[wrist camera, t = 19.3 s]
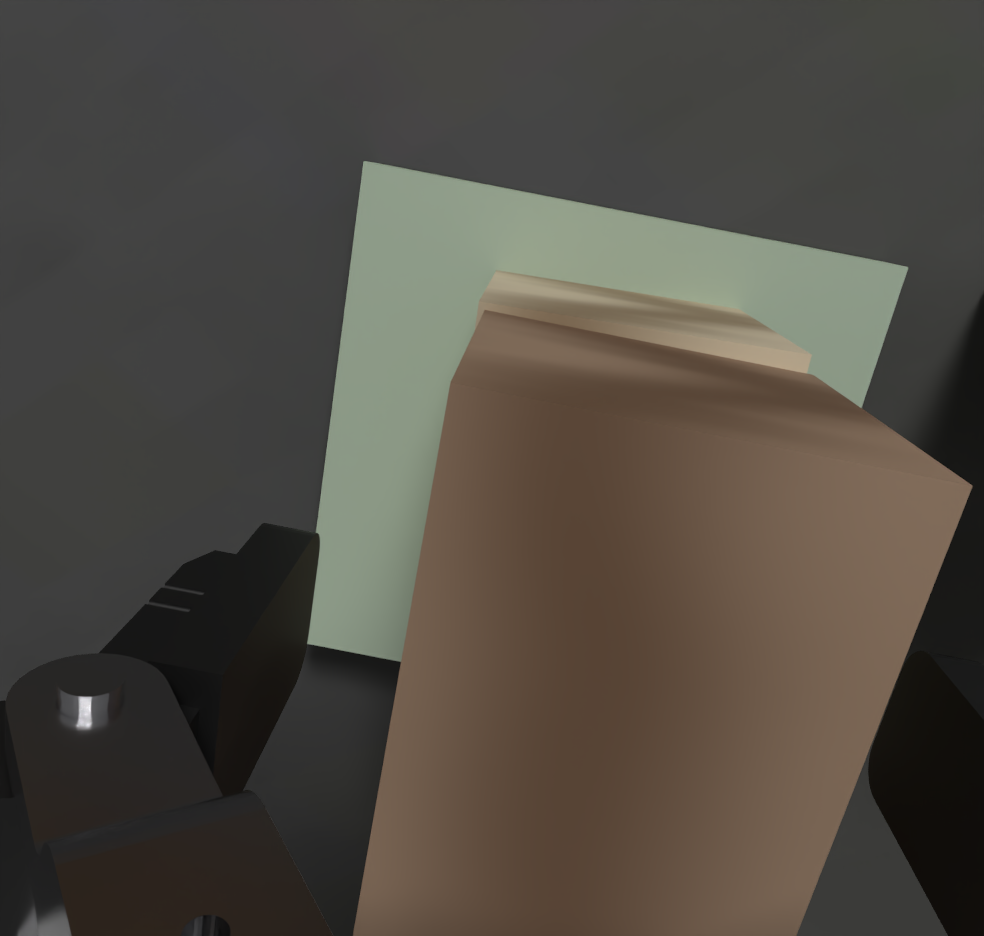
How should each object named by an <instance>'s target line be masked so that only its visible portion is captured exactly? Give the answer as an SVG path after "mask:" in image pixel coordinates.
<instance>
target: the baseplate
mask: <svg viewBox="0 0 984 936" xmlns="http://www.w3.org/2000/svg"><path fill="white" fill-rule="evenodd" d="M496 270H498V271H505V272H511V273H517V274H523V275H530V276H536V277H542V278H548V279H555V280H561V281H567V282H573V283H580V284H586V285H592V286H598V287H605V288H611V289H617V290H623V291H630V292H636V293H642V294H648V295H655V296H661V297H667V298H673V299H680V300H686V301H692V302H698V303H705V304H711V305H717V306H723V307H730V308H736V309H740V310H741V311H743V312H745V313H746V314H748V315H749V316H751V317H752V318H754V319H756V320H757V321H759V322H760V323H762V324H764V325H765V326H767V327H768V328H770V329H772V330H773V331H775V332H776V333H778V334H780V335H781V336H783V337H784V338H786V339H788V340H789V341H791V342H792V343H794V344H796V345H797V346H799V347H800V348H802V349H804V350H805V351H807V352H808V353H810V354H812V357H811V360H810V364H809V368H808V371H807V374H812V375H814V376H816V377H817V378H819V379H820V380H822V381H823V382H824V383H826V384H827V385H829V386H830V387H832V388H833V389H834V390H836V391H837V392H839V393H840V394H842V395H843V396H845V397H846V398H847V399H849V400H850V401H852V402H853V403H855V404H856V405H857V406H859V407H860V408H862V405H863V402H864V399H865V396H866V393H867V390H868V387H869V384H870V381H871V378H872V375H873V372H874V369H875V366H876V363H877V360H878V357H879V354H880V351H881V348H882V345H883V342H884V339H885V336H886V333H887V330H888V327H889V324H890V321H891V318H892V315H893V312H894V309H895V306H896V303H897V300H898V297H899V294H900V291H901V288H902V285H903V282H904V279H905V276H906V273H907V270H908V267H905V266H900V265H896V264H891V263H887V262H882V261H877V260H872V259H867V258H862V257H857V256H852V255H847V254H841V253H836V252H831V251H826V250H821V249H816V248H811V247H806V246H800V245H795V244H790V243H785V242H780V241H775V240H770V239H764V238H759V237H754V236H749V235H744V234H739V233H734V232H729V231H723V230H718V229H713V228H708V227H703V226H698V225H693V224H688V223H682V222H677V221H672V220H667V219H662V218H657V217H652V216H646V215H641V214H636V213H631V212H626V211H621V210H616V209H611V208H605V207H600V206H595V205H590V204H585V203H580V202H575V201H570V200H564V199H559V198H554V197H549V196H544V195H539V194H534V193H528V192H523V191H518V190H513V189H508V188H503V187H498V186H493V185H487V184H482V183H477V182H472V181H467V180H462V179H457V178H451V177H446V176H441V175H436V174H431V173H426V172H421V171H416V170H410V169H405V168H400V167H395V166H390V165H385V164H380V163H373V162H366V161H364V163H363V171H362V179H361V186H360V194H359V202H358V210H357V217H356V225H355V233H354V241H353V249H352V256H351V264H350V272H349V280H348V288H347V295H346V303H345V311H344V319H343V327H342V334H341V342H340V350H339V358H338V365H337V373H336V381H335V389H334V397H333V404H332V412H331V420H330V428H329V436H328V443H327V451H326V459H325V467H324V475H323V482H322V490H321V498H320V506H319V513H318V521H317V529H316V533H318V534H319V537H320V551H319V560H318V567H317V575H316V583H315V590H314V598H313V605H312V613H311V621H310V628H309V636H308V642H307V644H311V645H316V646H321V647H327V648H332V649H337V650H342V651H347V652H353V653H358V654H363V655H368V656H373V657H378V658H384V659H389V660H394V661H399V662H401V660H402V654H403V648H404V643H405V637H406V631H407V626H408V620H409V614H410V609H411V603H412V597H413V592H414V586H415V580H416V575H417V569H418V563H419V558H420V552H421V546H422V541H423V535H424V529H425V524H426V518H427V512H428V507H429V501H430V495H431V490H432V484H433V478H434V473H435V467H436V461H437V456H438V450H439V444H440V439H441V433H442V427H443V422H444V416H445V410H446V405H447V399H448V393H449V388H450V382H451V380H452V378H453V376H454V374H455V372H456V370H457V368H458V365H459V363H460V361H461V359H462V357H463V355H464V353H465V351H466V349H467V346H468V344H469V342H470V340H471V338H472V336H473V334H474V332H475V325H476V318H477V311H478V304H479V300H480V299H481V297H482V295H483V293H484V291H485V290H486V288H487V286H488V284H489V282H490V281H491V279H492V277H493V275H494V273H495V272H496Z"/></svg>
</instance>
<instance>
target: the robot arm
mask: <svg viewBox="0 0 984 936" xmlns="http://www.w3.org/2000/svg"><path fill="white" fill-rule="evenodd" d="M319 551H320V537H319V534H318V533H314V532H309V531H303V530H298V529H293V528H288V527H283V526H278V525H272V524H267V523H263V524H262V525H260V527H259V528H258V529H257V530H256V531H255V533H254V534H253V535H252V536H251V537H250V539H249V540H248V541H247V542H246V543H245V545H244V546H243V547H242V548H241V549H240V551H239V552H238V553H237V554H232V553H227V552H221V551H216V550H215V551H213V552H210V553H208V554H206V555H203V556H201V557H199V558H196V559H194V560H192V561H189V562H187V563H185V564H183V565H182V566H181V567H180V568H179V569H178V570H177V572H176V573H175V574H174V575H173V576H172V577H171V578H170V579H169V580H168V581H167V582H166V583H165V586H164V588H160V589H159V590H158V591H157V593H156V594H155V595H154V596H153V597H152V598H151V599H150V600H149V604H148V605H147V604H145V605H144V606H143V607H142V608H141V609H140V610H139V611H138V612H137V614H136V615H135V616H134V617H133V618H132V619H131V620H130V621H129V622H128V623H127V624H126V625H125V626H124V627H123V628H122V629H121V630H120V631H119V632H118V634H117V635H116V636H115V637H114V638H113V639H112V640H111V641H110V642H109V643H108V644H107V645H106V646H105V647H104V648H103V649H102V650H101V651H100V652H99V653H95V654H82V655H74V656H69V657H64V658H61V659H57V660H54V661H50V662H48V663H45V664H43V665H40V666H38V667H36V668H35V669H33V670H31V671H29V672H28V673H26V674H25V675H23V676H22V677H21V678H19V679H18V680H17V681H16V683H15V684H14V685H13V686H12V687H11V689H10V690H9V692H8V694H7V697H6V700H5V701H0V936H333V934H332V932H331V930H330V929H329V927H328V925H327V923H326V921H325V919H324V917H323V915H322V913H321V911H320V910H319V908H318V906H317V904H316V902H315V900H314V898H313V896H312V894H311V893H310V891H309V889H308V887H307V885H306V883H305V881H304V879H303V877H302V876H301V874H300V872H299V870H298V868H297V866H296V864H295V862H294V860H293V859H292V857H291V855H290V853H289V851H288V849H287V847H286V845H285V843H284V842H283V840H282V838H281V836H280V834H279V832H278V830H277V828H276V826H275V825H274V823H273V821H272V819H271V817H270V815H269V813H268V811H267V809H266V808H265V806H264V804H263V803H262V801H261V799H260V798H259V797H258V796H257V795H256V794H255V793H254V792H253V791H250V790H245V791H243V789H244V787H245V785H246V783H247V781H248V779H249V777H250V775H251V773H252V771H253V769H254V767H255V765H256V763H257V761H258V759H259V757H260V755H261V753H262V751H263V749H264V747H265V745H266V743H267V741H268V739H269V737H270V735H271V733H272V731H273V729H274V727H275V725H276V723H277V721H278V719H279V717H280V715H281V713H282V711H283V709H284V707H285V705H286V703H287V700H288V698H289V696H290V694H291V692H292V690H293V688H294V686H295V684H296V682H297V679H298V677H299V674H300V671H301V668H302V664H303V660H304V656H305V652H306V648H307V642H308V636H309V628H310V621H311V613H312V605H313V598H314V590H315V583H316V575H317V567H318V560H319ZM868 773H869V784H870V789H871V792H872V795H873V797H874V799H875V801H876V803H877V805H878V807H879V809H880V811H881V812H882V814H883V816H884V818H885V820H886V822H887V823H888V825H889V827H890V829H891V831H892V833H893V835H894V836H895V838H896V840H897V842H898V844H899V846H900V848H901V849H902V851H903V853H904V855H905V857H906V859H907V860H908V862H909V864H910V866H911V868H912V870H913V872H914V873H915V875H916V877H917V879H918V881H919V883H920V885H921V886H922V888H923V890H924V892H925V894H926V896H927V897H928V899H929V901H930V903H931V905H932V907H933V909H934V910H935V912H936V914H937V916H938V918H939V920H940V922H941V923H942V925H943V927H944V929H945V931H946V933H947V934H948V936H984V666H983V665H982V664H981V663H979V662H975V661H970V660H965V659H960V658H955V657H950V656H944V655H939V654H934V653H929V652H924V651H918V652H915V653H914V654H912V655H911V656H910V657H909V658H908V660H907V661H906V663H905V664H904V667H903V669H902V671H901V674H900V676H899V679H898V682H897V684H896V687H895V689H894V692H893V694H892V697H891V700H890V702H889V705H888V707H887V710H886V712H885V715H884V718H883V720H882V723H881V725H880V728H879V730H878V733H877V736H876V738H875V741H874V743H873V746H872V749H871V753H870V758H869V768H868Z"/></svg>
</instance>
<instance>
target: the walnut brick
mask: <svg viewBox="0 0 984 936" xmlns="http://www.w3.org/2000/svg"><path fill="white" fill-rule="evenodd" d="M972 487H973V486H972V485H971V484H969V483H968V482H966V481H965V480H964V479H962V478H961V477H959V476H958V475H956V474H955V473H954V472H952V471H951V470H949V469H948V468H946V467H945V466H943V465H942V464H941V463H939V462H938V461H936V460H935V459H933V458H932V457H931V456H929V455H928V454H926V453H925V452H923V451H922V450H921V449H919V448H918V447H916V446H915V445H913V444H912V443H910V442H909V441H908V440H906V439H905V438H903V437H902V436H900V435H899V434H898V433H896V432H895V431H893V430H892V429H890V428H889V427H888V426H886V425H885V424H883V423H882V422H880V421H879V420H877V419H876V418H875V417H873V416H872V415H870V414H869V413H867V412H866V411H865V410H863V409H862V408H860V407H859V406H857V405H856V404H855V403H853V402H852V401H850V400H849V399H847V398H846V397H845V396H843V395H842V394H840V393H839V392H837V391H836V390H834V389H833V388H832V387H830V386H829V385H827V384H826V383H824V382H823V381H822V380H820V379H819V378H817V377H816V376H814V375H812V374H807V373H802V372H796V371H791V370H786V369H781V368H776V367H771V366H766V365H761V364H756V363H751V362H746V361H741V360H736V359H731V358H726V357H721V356H716V355H711V354H706V353H701V352H696V351H690V350H685V349H680V348H675V347H670V346H665V345H660V344H655V343H650V342H645V341H640V340H635V339H630V338H625V337H620V336H615V335H610V334H605V333H600V332H595V331H590V330H584V329H579V328H574V327H569V326H564V325H559V324H554V323H549V322H544V321H539V320H534V319H529V318H524V317H519V316H514V315H509V314H504V313H499V312H494V311H489V310H484V313H483V315H482V317H481V319H480V321H479V323H478V325H477V327H476V329H475V332H474V334H473V336H472V338H471V340H470V342H469V344H468V346H467V349H466V351H465V353H464V355H463V357H462V359H461V361H460V363H459V365H458V368H457V370H456V372H455V374H454V376H453V378H452V380H451V382H450V388H449V393H448V399H447V405H446V410H445V416H444V422H443V427H442V433H441V439H440V444H439V450H438V456H437V461H436V467H435V473H434V478H433V484H432V490H431V495H430V501H429V507H428V512H427V518H426V524H425V529H424V535H423V541H422V546H421V552H420V558H419V563H418V569H417V575H416V580H415V586H414V592H413V597H412V603H411V609H410V614H409V620H408V626H407V631H406V637H405V643H404V648H403V654H402V660H401V665H400V671H399V677H398V682H397V688H396V694H395V699H394V705H393V711H392V716H391V722H390V728H389V733H388V739H387V745H386V750H385V756H384V762H383V767H382V773H381V779H380V784H379V790H378V796H377V801H376V807H375V813H374V818H373V824H372V830H371V835H370V841H369V847H368V852H367V858H366V864H365V869H364V875H363V881H362V886H361V892H360V898H359V903H358V909H357V915H356V920H355V926H354V932H353V936H796V935H797V932H798V930H799V927H800V925H801V922H802V920H803V917H804V914H805V912H806V909H807V907H808V904H809V902H810V899H811V897H812V894H813V891H814V889H815V886H816V884H817V881H818V879H819V876H820V874H821V871H822V869H823V866H824V863H825V861H826V858H827V856H828V853H829V851H830V848H831V846H832V843H833V841H834V838H835V835H836V833H837V830H838V828H839V825H840V823H841V820H842V818H843V815H844V813H845V810H846V807H847V805H848V802H849V800H850V797H851V795H852V792H853V790H854V787H855V785H856V782H857V779H858V777H859V774H860V772H861V769H862V767H863V764H864V762H865V759H866V757H867V754H868V751H869V749H870V746H871V744H872V741H873V739H874V736H875V734H876V731H877V729H878V726H879V723H880V721H881V718H882V716H883V713H884V711H885V708H886V706H887V703H888V701H889V698H890V695H891V693H892V690H893V688H894V685H895V683H896V680H897V678H898V675H899V672H900V670H901V667H902V665H903V662H904V660H905V657H906V655H907V652H908V650H909V647H910V644H911V642H912V639H913V637H914V634H915V632H916V629H917V627H918V624H919V622H920V619H921V616H922V614H923V611H924V609H925V606H926V604H927V601H928V599H929V596H930V594H931V591H932V588H933V586H934V583H935V581H936V578H937V576H938V573H939V571H940V568H941V566H942V563H943V560H944V558H945V555H946V553H947V550H948V548H949V545H950V543H951V540H952V538H953V535H954V532H955V530H956V527H957V525H958V522H959V520H960V517H961V515H962V512H963V510H964V507H965V504H966V502H967V499H968V497H969V494H970V492H971V489H972Z"/></svg>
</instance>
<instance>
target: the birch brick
mask: <svg viewBox="0 0 984 936" xmlns="http://www.w3.org/2000/svg"><path fill="white" fill-rule="evenodd" d="M484 310H489V311H494V312H499V313H504V314H509V315H514V316H519V317H524V318H529V319H534V320H539V321H544V322H549V323H554V324H559V325H564V326H569V327H574V328H579V329H584V330H590V331H595V332H600V333H605V334H610V335H615V336H620V337H625V338H630V339H635V340H640V341H645V342H650V343H655V344H660V345H665V346H670V347H675V348H680V349H685V350H690V351H696V352H701V353H706V354H711V355H716V356H721V357H726V358H731V359H736V360H741V361H746V362H751V363H756V364H761V365H766V366H771V367H776V368H781V369H786V370H791V371H796V372H802V373H807V371H808V368H809V364H810V360H811V357H812V354H810V353H808V352H807V351H805V350H804V349H802V348H800V347H799V346H797V345H796V344H794V343H792V342H791V341H789V340H788V339H786V338H784V337H783V336H781V335H780V334H778V333H776V332H775V331H773V330H772V329H770V328H768V327H767V326H765V325H764V324H762V323H760V322H759V321H757V320H756V319H754V318H752V317H751V316H749V315H748V314H746V313H745V312H743V311H741V310H740V309H736V308H730V307H723V306H717V305H711V304H705V303H698V302H692V301H686V300H680V299H673V298H667V297H661V296H655V295H648V294H642V293H636V292H630V291H623V290H617V289H611V288H605V287H598V286H592V285H586V284H580V283H573V282H567V281H561V280H555V279H548V278H542V277H536V276H530V275H523V274H517V273H511V272H505V271H498V270H496V272H495V273H494V275H493V277H492V279H491V281H490V282H489V284H488V286H487V288H486V290H485V291H484V293H483V295H482V297H481V299H480V300H479V304H478V311H477V318H476V325H475V329H476V327H477V325H478V323H479V321H480V319H481V317H482V315H483V313H484Z"/></svg>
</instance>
